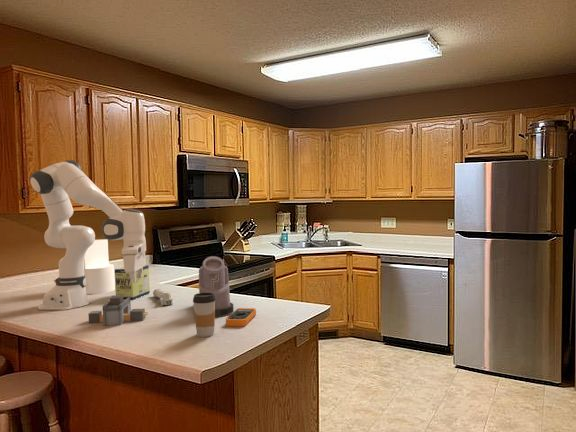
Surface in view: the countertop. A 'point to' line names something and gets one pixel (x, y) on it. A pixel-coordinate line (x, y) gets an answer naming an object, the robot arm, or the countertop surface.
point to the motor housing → (116, 310)
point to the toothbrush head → (163, 296)
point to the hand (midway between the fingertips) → (136, 280)
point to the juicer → (216, 284)
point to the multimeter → (240, 317)
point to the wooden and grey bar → (133, 316)
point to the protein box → (131, 284)
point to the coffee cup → (204, 313)
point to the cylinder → (98, 269)
